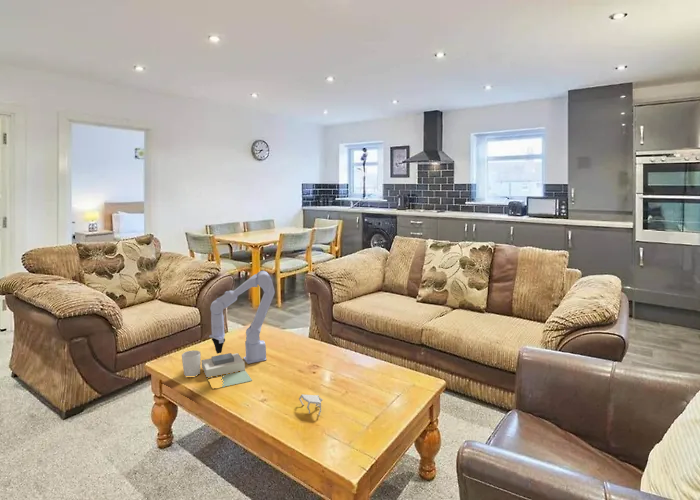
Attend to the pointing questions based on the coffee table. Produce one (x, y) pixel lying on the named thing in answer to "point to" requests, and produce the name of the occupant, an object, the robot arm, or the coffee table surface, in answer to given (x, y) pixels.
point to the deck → (223, 366)
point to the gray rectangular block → (222, 359)
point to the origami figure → (311, 400)
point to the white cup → (191, 363)
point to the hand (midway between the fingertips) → (218, 352)
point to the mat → (235, 378)
